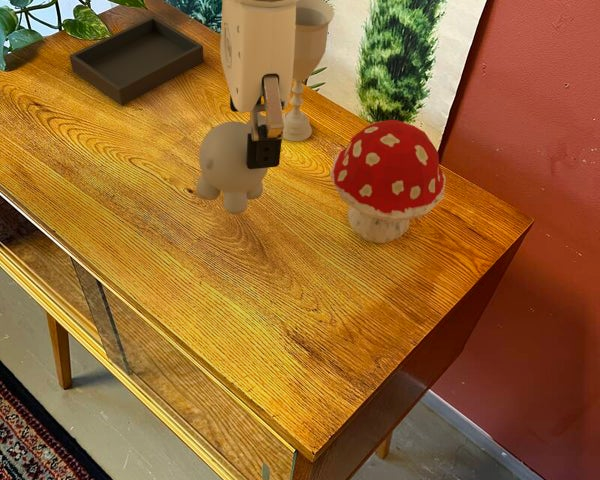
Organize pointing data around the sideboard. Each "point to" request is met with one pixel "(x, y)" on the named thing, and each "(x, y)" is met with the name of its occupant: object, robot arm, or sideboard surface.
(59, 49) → the sideboard surface
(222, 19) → the robot arm
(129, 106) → the sideboard surface
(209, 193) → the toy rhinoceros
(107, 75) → the tray
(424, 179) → the decorative mushroom
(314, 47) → the chalice
